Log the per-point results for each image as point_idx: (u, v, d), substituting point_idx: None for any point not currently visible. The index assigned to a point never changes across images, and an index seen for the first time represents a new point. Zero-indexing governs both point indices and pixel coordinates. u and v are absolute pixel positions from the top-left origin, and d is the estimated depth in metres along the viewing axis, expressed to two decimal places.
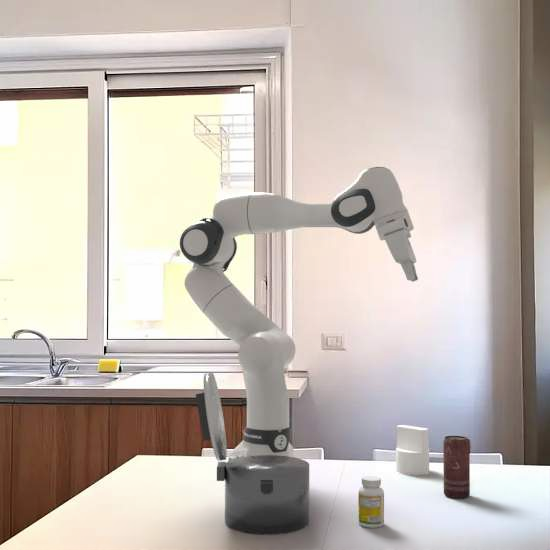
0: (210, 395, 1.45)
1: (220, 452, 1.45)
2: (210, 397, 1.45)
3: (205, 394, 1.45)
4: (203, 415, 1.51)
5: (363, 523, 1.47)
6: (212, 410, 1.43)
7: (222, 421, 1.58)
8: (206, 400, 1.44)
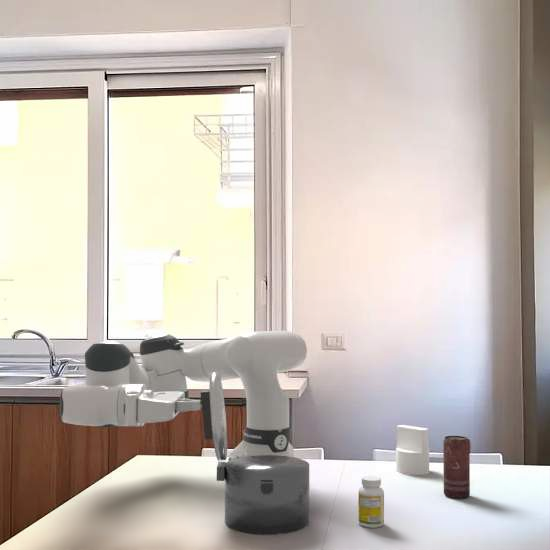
0: (215, 394, 1.45)
1: (221, 452, 1.45)
2: (215, 396, 1.45)
3: (210, 393, 1.45)
4: (206, 414, 1.51)
5: (363, 523, 1.47)
6: (216, 410, 1.43)
7: (224, 421, 1.58)
8: (211, 399, 1.44)
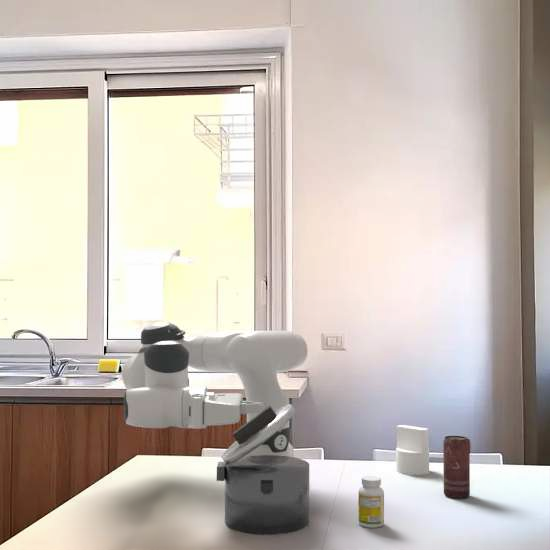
0: (280, 426, 1.45)
1: (233, 460, 1.45)
2: (279, 427, 1.44)
3: (279, 421, 1.45)
4: (254, 423, 1.51)
5: (363, 523, 1.47)
6: (269, 436, 1.43)
7: None
8: (275, 425, 1.44)
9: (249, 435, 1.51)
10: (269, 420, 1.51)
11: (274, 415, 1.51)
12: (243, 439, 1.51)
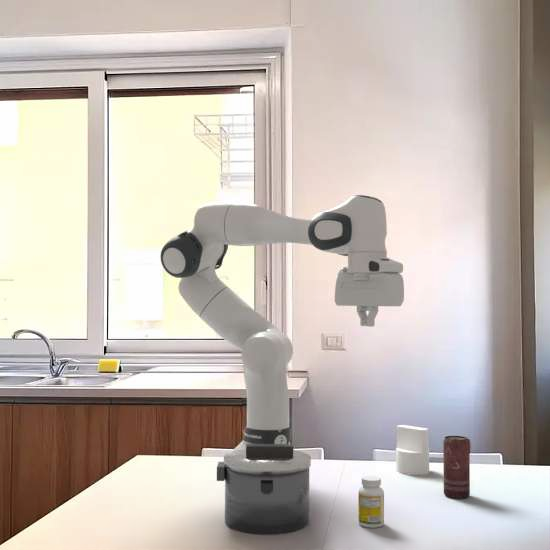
0: (293, 471, 1.44)
1: (235, 469, 1.45)
2: (291, 471, 1.44)
3: (295, 466, 1.45)
4: (270, 450, 1.51)
5: (363, 523, 1.47)
6: (279, 473, 1.43)
7: None
8: (289, 467, 1.44)
9: (259, 456, 1.51)
10: (284, 456, 1.51)
11: (291, 455, 1.51)
12: (252, 456, 1.51)
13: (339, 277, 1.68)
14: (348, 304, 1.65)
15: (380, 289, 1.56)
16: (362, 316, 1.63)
